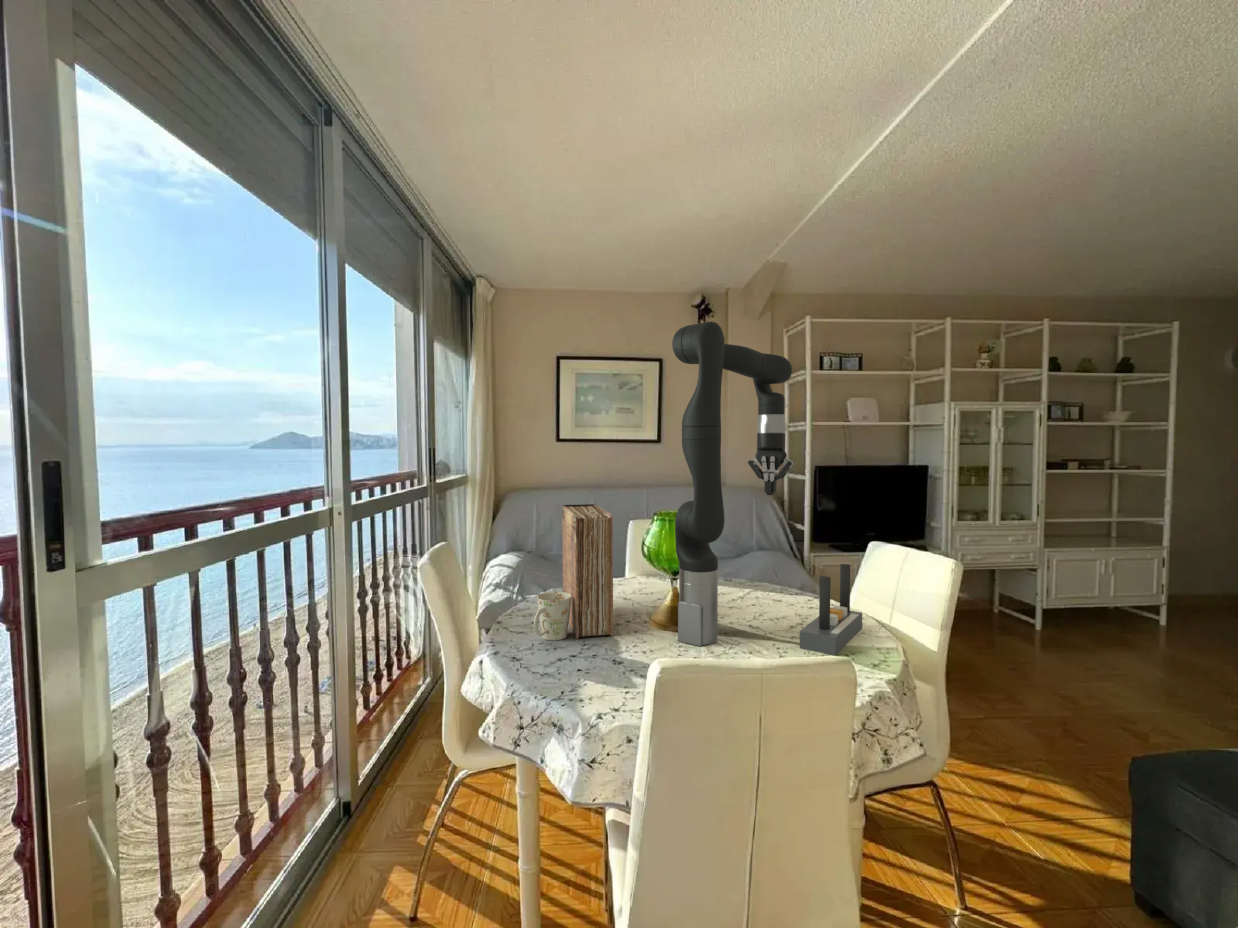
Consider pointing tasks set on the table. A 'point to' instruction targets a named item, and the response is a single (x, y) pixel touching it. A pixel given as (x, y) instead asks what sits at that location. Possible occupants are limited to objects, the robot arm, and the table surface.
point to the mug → (553, 615)
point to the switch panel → (831, 632)
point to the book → (588, 568)
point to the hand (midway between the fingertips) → (770, 494)
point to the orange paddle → (837, 613)
